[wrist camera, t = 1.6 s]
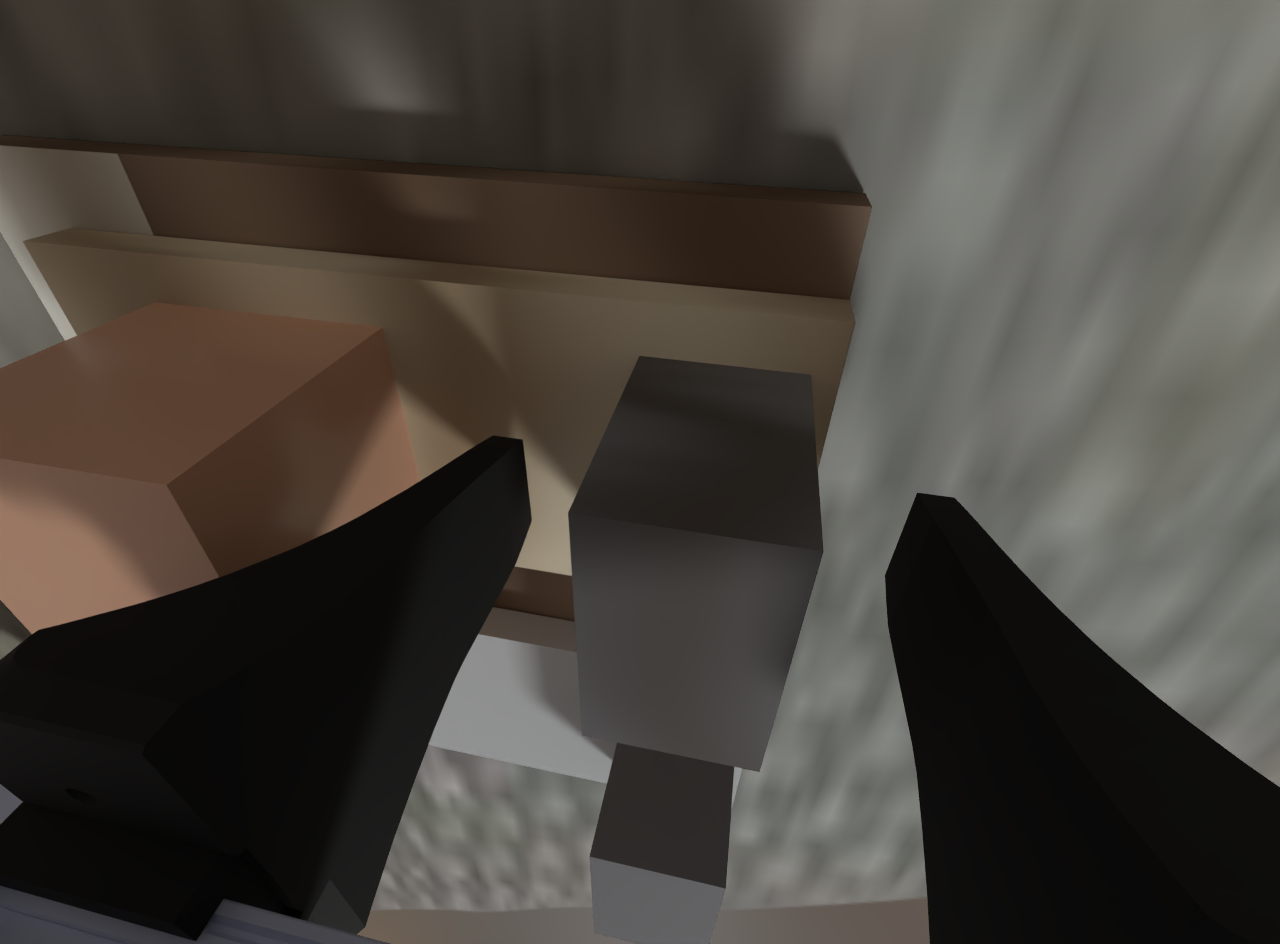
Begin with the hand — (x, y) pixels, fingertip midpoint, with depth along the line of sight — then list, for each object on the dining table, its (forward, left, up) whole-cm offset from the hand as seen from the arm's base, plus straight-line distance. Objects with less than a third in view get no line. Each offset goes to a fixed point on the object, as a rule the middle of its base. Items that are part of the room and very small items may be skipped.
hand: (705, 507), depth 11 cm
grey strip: (-6, -10, -2) cm, 12 cm away
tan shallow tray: (-6, 0, -2) cm, 6 cm away
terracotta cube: (-9, 0, -1) cm, 9 cm away
